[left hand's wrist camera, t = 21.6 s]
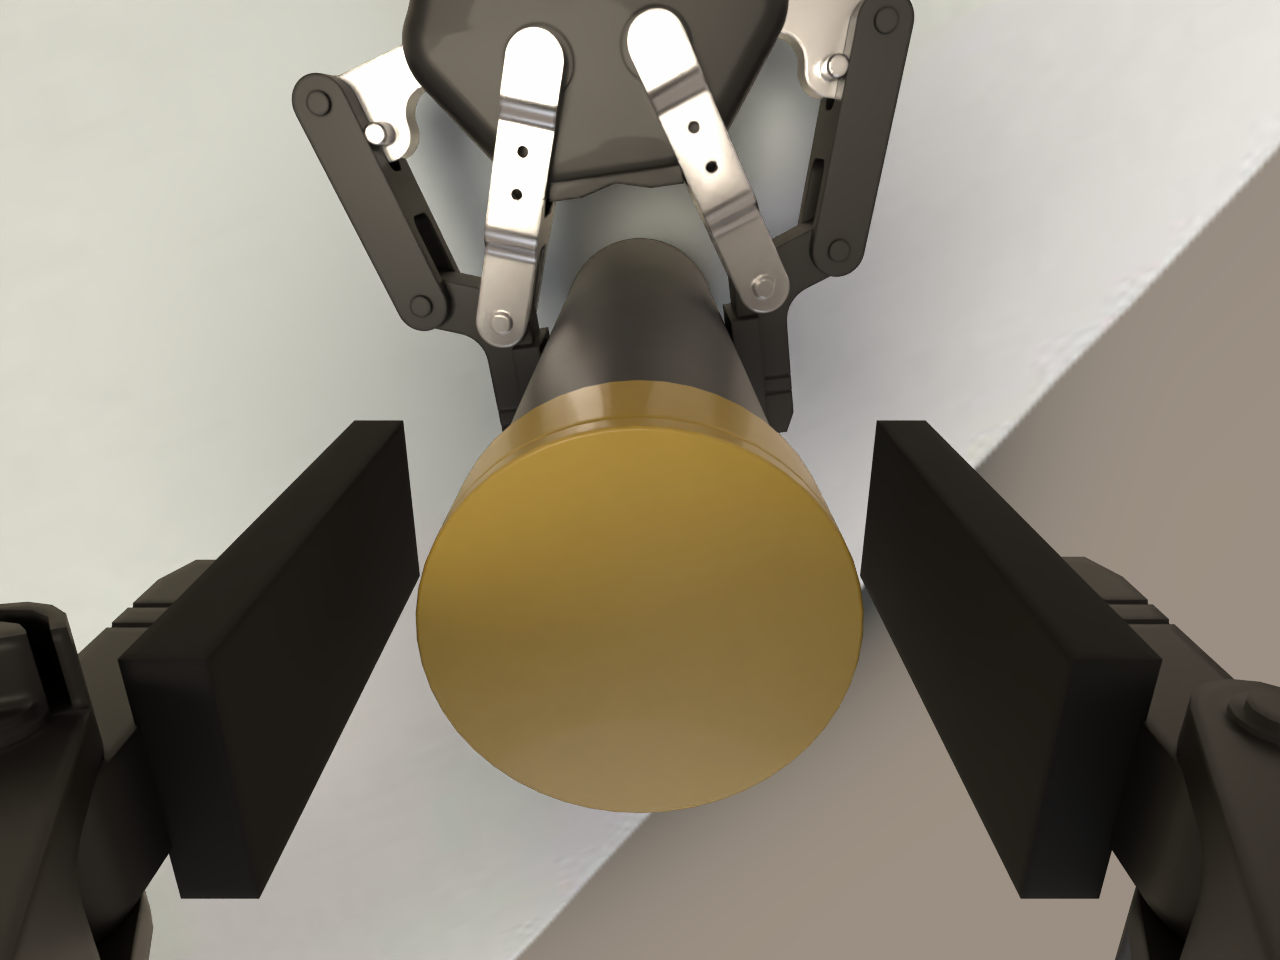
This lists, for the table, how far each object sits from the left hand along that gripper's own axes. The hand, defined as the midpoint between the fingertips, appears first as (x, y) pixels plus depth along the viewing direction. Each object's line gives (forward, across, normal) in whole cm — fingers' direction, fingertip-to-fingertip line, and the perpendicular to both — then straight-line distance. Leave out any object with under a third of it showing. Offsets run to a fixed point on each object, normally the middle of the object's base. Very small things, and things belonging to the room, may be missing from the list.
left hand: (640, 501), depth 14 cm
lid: (-4, 0, 0) cm, 4 cm away
